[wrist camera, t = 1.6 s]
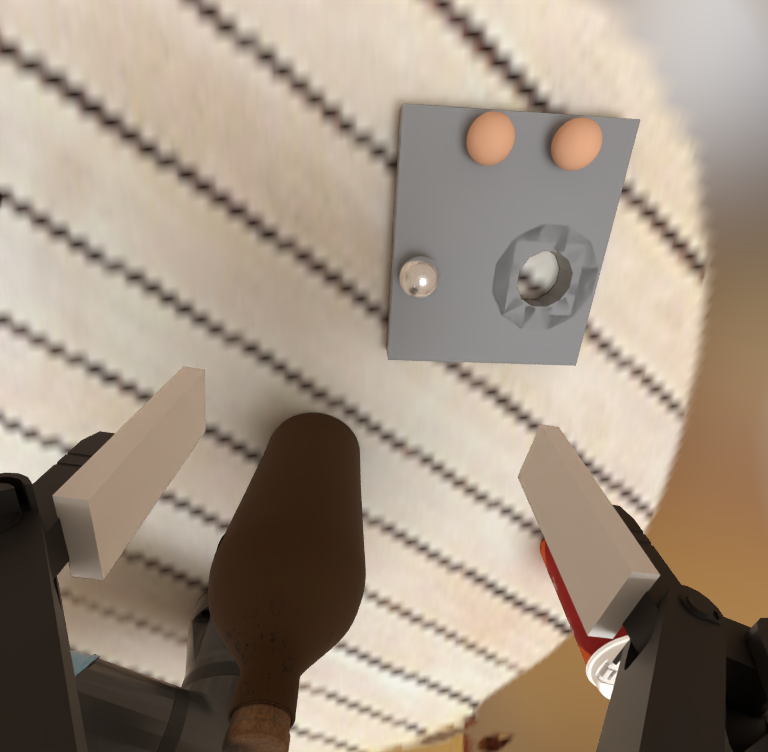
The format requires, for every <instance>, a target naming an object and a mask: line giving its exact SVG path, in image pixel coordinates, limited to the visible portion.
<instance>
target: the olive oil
mask: <svg viewBox="0 0 768 752" xmlns="http://www.w3.org/2000/svg"><path fill="white" fill-rule="evenodd" d="M365 578H366V569H365V552H364V537H363V521H362V501H361V480H360V449H359V444H358V441H357V439H356V437H355V435H354V433H353V432H352V431H351V430H350V428H349V427H348V426H346V425H345V424H344V423H343V422H341V421H339V420H338V419H336V418H333V417H331V416H328V415H324V414H317V413H308V414H301V415H297V416H294V417H292V418H290V419H288V420H286V421H285V422H283V423H282V424H281V425H280V426H279V427H278V428H277V429H276V430H275V432H274V433H273V435H272V437H271V439H270V441H269V443H268V446H267V448H266V450H265V452H264V455H263V457H262V459H261V461H260V463H259V465H258V467H257V469H256V471H255V473H254V476H253V478H252V480H251V482H250V484H249V486H248V488H247V490H246V492H245V494H244V496H243V498H242V500H241V502H240V504H239V506H238V508H237V511H236V513H235V515H234V517H233V519H232V521H231V523H230V525H229V527H228V529H227V531H226V533H225V534H224V535H223V537H222V538H221V540H220V542H219V544H218V547H217V551H216V553H215V556H214V559H213V562H212V566H211V570H210V576H209V587H208V604H209V611H210V616H211V619H212V621H213V624H214V626H215V628H216V630H217V632H218V634H219V636H220V637H221V639H222V640H223V642H224V643H225V645H226V647H227V648H228V650H229V651H230V653H231V654H232V656H233V658H234V659H235V661H236V662H237V664H238V666H239V668H240V675H239V678H238V682H237V685H236V688H235V691H234V695H233V699H232V702H231V706H230V710H229V712H228V721H229V723H230V724H229V728H228V729H227V731H226V733H225V737H224V741H223V745H222V752H288V750H289V743H290V734H289V731H290V728H291V727H292V726H293V724H294V722H295V714H296V707H297V699H298V689H299V679H300V676H301V675H302V674H303V673H304V672H305V671H306V670H307V669H308V668H309V667H310V666H311V665H313V664H314V663H315V662H316V661H317V660H318V659H320V658H321V657H322V656H323V655H324V654H326V653H327V652H328V651H329V650H330V649H331V648H332V647H334V646H335V645H336V644H337V643H338V642H339V641H340V640H341V639H342V638H343V636H344V635H345V634H346V633H347V631H348V630H349V628H350V627H351V625H352V623H353V621H354V619H355V617H356V614H357V612H358V609H359V606H360V603H361V600H362V597H363V593H364V587H365Z"/></svg>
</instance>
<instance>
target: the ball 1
mask: <svg viewBox="0 0 768 752" xmlns="http://www.w3.org/2000/svg"><path fill="white" fill-rule="evenodd" d="M399 280H400V285H401V287H402V289H403V291H404V292H405V293H406V294H407V295H408V296H410V297H412V298H415V299H425V298H428V297H430V296H431V295H433V294H434V293H435V292H436V291H437V289H438V288H439V285H440V282H441V272H440V269H439V267H438V265H437V264H436V263H435V262H434V261H433V260H431V259H430V258H427V257H423V256H418V257H414V258H412V259H410V260H408V261H407V262H406V263H405V264H404V265H403V267H402V269H401V271H400V276H399Z"/></svg>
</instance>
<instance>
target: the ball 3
mask: <svg viewBox="0 0 768 752" xmlns="http://www.w3.org/2000/svg"><path fill="white" fill-rule="evenodd" d="M601 145H602V132H601V129H600V127H599V125H598V124H597V123H596V122H595V121H593V120H592V119H589V118H585V117H579V118H574V119H572V120H570V121H568V122H566V123H565V124H564V125H562V126H561V127H560V128H559V130H558V131H557V132H556V134H555V136H554V138H553V140H552V144H551V155H552V158H553V160H554V162H555V164H556V165H557V166H558V167H560V168H562V169H564V170H568V171H575V170H579V169H582V168H584V167H586V166H587V165H589V164H590V163H591V162H592V161H593V160H594V159H595V158H596V156H597V155H598V153H599V151H600V148H601Z"/></svg>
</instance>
